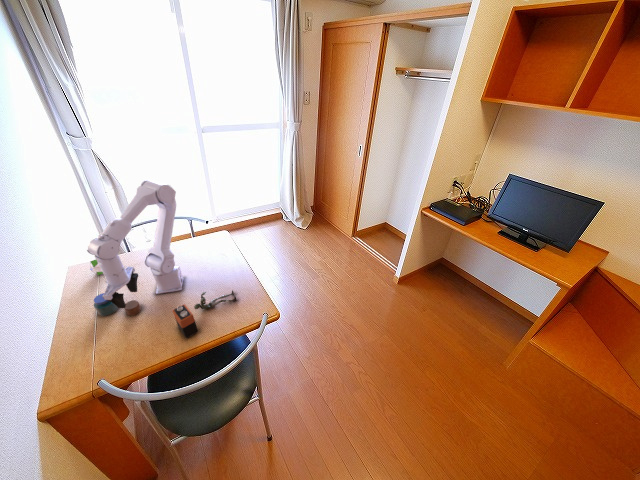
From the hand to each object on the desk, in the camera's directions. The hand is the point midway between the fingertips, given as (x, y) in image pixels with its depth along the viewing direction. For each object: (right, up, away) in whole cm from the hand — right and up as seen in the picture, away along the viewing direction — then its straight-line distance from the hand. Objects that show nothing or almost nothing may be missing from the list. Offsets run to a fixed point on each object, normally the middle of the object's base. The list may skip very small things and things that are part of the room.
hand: (128, 299), depth 96 cm
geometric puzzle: (-25, +7, +20) cm, 33 cm away
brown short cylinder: (0, -5, +3) cm, 6 cm away
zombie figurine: (+28, -4, +8) cm, 30 cm away
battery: (+23, -10, -2) cm, 25 cm away
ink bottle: (-10, -4, +3) cm, 11 cm away
